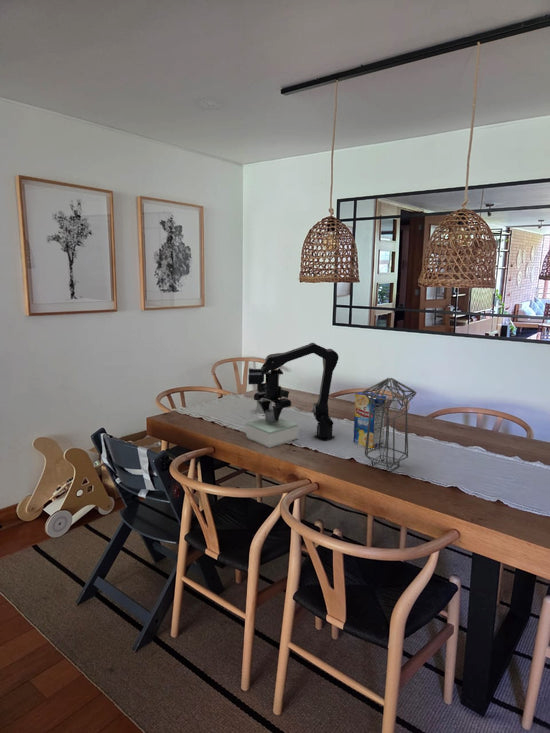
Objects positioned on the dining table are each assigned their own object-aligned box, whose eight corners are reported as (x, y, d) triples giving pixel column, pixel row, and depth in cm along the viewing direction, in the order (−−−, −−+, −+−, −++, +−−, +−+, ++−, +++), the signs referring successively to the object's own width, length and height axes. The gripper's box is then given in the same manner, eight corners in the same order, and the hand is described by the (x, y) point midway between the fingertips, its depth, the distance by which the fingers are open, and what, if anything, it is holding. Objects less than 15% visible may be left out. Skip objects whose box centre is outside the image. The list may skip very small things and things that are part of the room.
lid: (297, 426, 211) (297, 424, 210) (269, 434, 200) (269, 432, 200) (273, 417, 222) (273, 415, 222) (246, 424, 212) (246, 423, 212)
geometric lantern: (414, 466, 184) (420, 378, 176) (391, 479, 173) (396, 386, 165) (379, 454, 195) (383, 370, 187) (355, 466, 184) (359, 377, 176)
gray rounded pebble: (281, 421, 211) (281, 411, 210) (271, 423, 207) (271, 413, 206) (272, 417, 215) (272, 408, 214) (262, 420, 211) (262, 410, 210)
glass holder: (254, 411, 252) (254, 383, 249) (280, 409, 256) (280, 381, 253) (258, 416, 244) (258, 387, 241) (284, 414, 248) (285, 385, 245)
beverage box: (372, 450, 200) (375, 399, 195) (353, 442, 208) (355, 393, 204) (383, 446, 204) (386, 396, 200) (363, 439, 213) (366, 390, 208)
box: (297, 439, 212) (297, 426, 211) (269, 447, 202) (269, 434, 200) (273, 430, 224) (273, 417, 222) (246, 437, 213) (246, 424, 212)
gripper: (300, 385, 206) (300, 420, 209) (272, 377, 220) (272, 410, 223) (281, 389, 199) (280, 425, 202) (253, 381, 212) (253, 415, 216)
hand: (272, 418), depth 211 cm, fingers closed on gray rounded pebble, 6 cm apart
